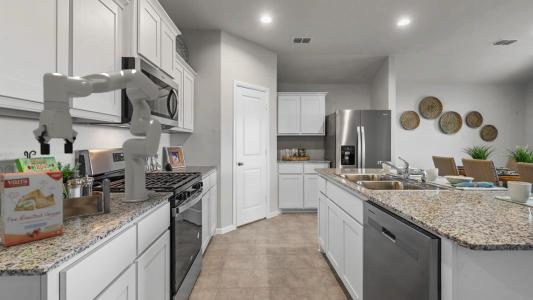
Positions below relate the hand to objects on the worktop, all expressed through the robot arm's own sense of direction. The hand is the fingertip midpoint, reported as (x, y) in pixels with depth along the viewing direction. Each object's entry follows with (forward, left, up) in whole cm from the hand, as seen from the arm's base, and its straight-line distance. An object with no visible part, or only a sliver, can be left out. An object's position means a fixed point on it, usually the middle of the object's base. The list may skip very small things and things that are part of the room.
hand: (57, 154), depth 100 cm
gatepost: (-17, -2, -26) cm, 30 cm away
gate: (-4, -2, -25) cm, 25 cm away
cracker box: (+8, +16, -26) cm, 31 cm away
